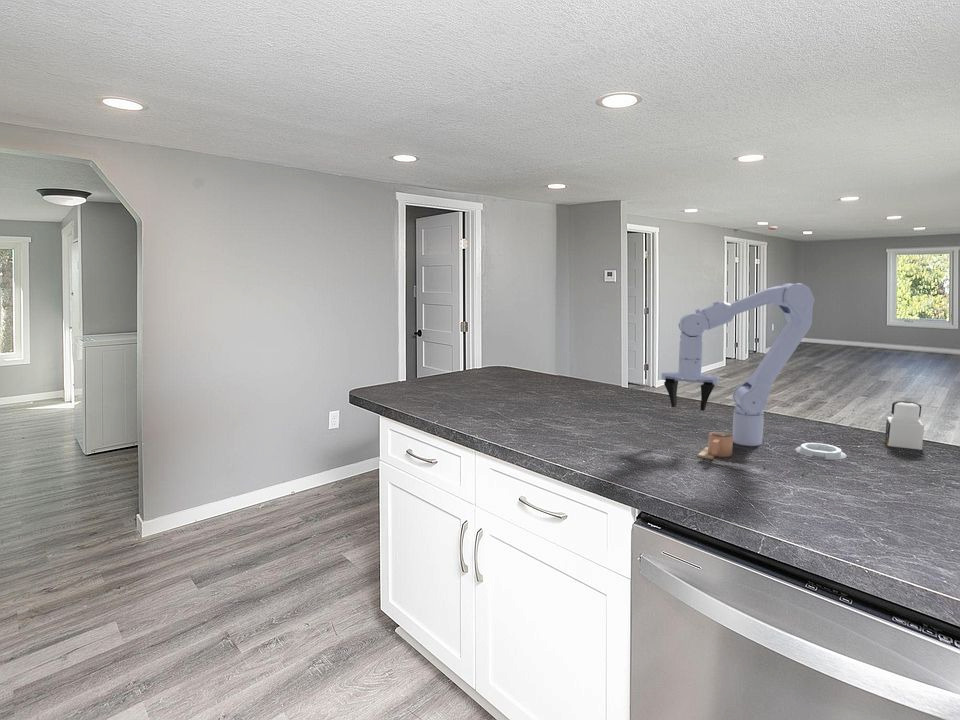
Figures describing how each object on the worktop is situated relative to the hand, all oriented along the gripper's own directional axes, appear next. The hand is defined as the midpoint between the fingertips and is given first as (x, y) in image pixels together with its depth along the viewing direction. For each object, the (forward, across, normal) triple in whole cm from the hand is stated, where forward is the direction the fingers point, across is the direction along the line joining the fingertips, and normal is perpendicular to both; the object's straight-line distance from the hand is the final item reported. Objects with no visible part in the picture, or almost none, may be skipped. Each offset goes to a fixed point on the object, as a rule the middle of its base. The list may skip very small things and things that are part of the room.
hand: (688, 408), depth 154 cm
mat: (+9, -10, +8) cm, 16 cm away
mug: (+9, -10, +10) cm, 17 cm away
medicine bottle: (+10, -48, -26) cm, 55 cm away
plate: (+9, -31, -6) cm, 33 cm away
